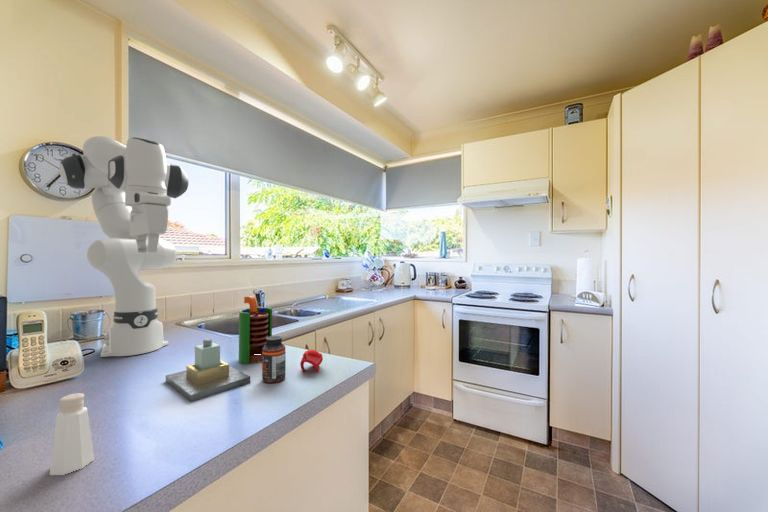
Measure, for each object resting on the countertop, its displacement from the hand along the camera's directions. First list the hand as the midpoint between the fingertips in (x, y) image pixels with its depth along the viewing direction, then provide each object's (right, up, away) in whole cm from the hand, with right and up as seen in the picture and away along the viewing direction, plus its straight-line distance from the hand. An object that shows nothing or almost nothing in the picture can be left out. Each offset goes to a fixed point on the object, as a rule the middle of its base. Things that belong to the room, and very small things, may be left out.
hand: (147, 252), depth 82 cm
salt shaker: (+13, -35, -33) cm, 49 cm away
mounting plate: (+16, -34, 0) cm, 38 cm away
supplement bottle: (+33, -34, +1) cm, 48 cm away
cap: (+42, -34, +8) cm, 55 cm away
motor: (+21, -34, +18) cm, 44 cm away
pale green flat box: (+16, -33, 0) cm, 36 cm away
